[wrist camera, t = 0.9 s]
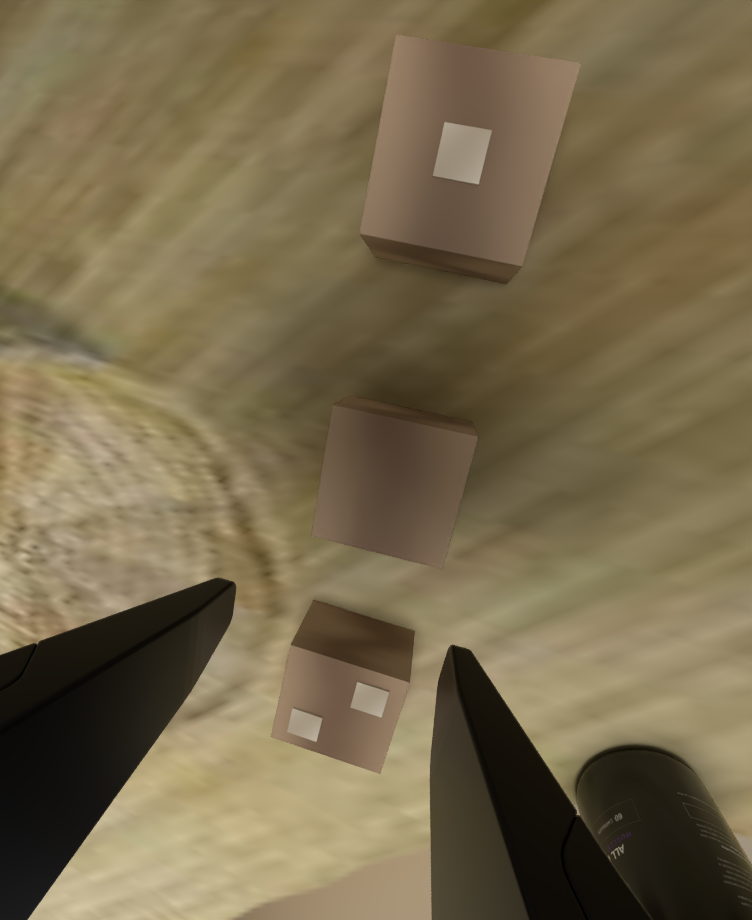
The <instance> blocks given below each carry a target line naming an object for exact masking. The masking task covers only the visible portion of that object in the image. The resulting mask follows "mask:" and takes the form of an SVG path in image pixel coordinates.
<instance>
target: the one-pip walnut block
mask: <svg viewBox="0 0 752 920" xmlns="http://www.w3.org/2000/svg"><path fill="white" fill-rule="evenodd" d="M580 65H581V63H578V62H571V61H565V60H558V59H552V58H545V57H539V56H532V55H526V54H519V53H513V52H506V51H500V50H493V49H487V48H480V47H474V46H467V45H461V44H455V43H448V42H442V41H435V40H429V39H422V38H416V37H409V36H403V35H396V37H395V43H394V48H393V54H392V59H391V65H390V70H389V75H388V81H387V86H386V92H385V97H384V103H383V108H382V113H381V119H380V124H379V130H378V135H377V141H376V146H375V151H374V157H373V162H372V168H371V173H370V178H369V184H368V189H367V195H366V200H365V206H364V211H363V216H362V222H361V227H360V233H359V234H360V235H361V237H362V238H363V240H364V241H365V243H366V244H367V245H368V247H369V248H370V250H371V251H372V253H373V254H374V256H375V257H378V258H383V259H388V260H393V261H398V262H402V263H407V264H412V265H417V266H422V267H427V268H432V269H436V270H441V271H446V272H451V273H456V274H461V275H465V276H470V277H475V278H480V279H485V280H490V281H494V282H499V283H504V284H507V283H508V282H509V281H510V279H511V278H512V277H513V276H514V275H515V274H516V273H517V272H518V271H519V270H520V269H521V267H522V266H523V263H524V259H525V256H526V252H527V249H528V245H529V242H530V238H531V235H532V231H533V228H534V225H535V221H536V218H537V214H538V211H539V207H540V204H541V200H542V197H543V193H544V190H545V186H546V183H547V179H548V176H549V173H550V169H551V166H552V162H553V159H554V155H555V152H556V148H557V145H558V141H559V138H560V134H561V131H562V127H563V124H564V121H565V117H566V114H567V110H568V107H569V103H570V100H571V96H572V93H573V89H574V86H575V82H576V79H577V76H578V72H579V69H580Z"/></svg>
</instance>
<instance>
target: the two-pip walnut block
mask: <svg viewBox="0 0 752 920" xmlns="http://www.w3.org/2000/svg"><path fill="white" fill-rule="evenodd" d="M414 633H415V631H412V630H409V629H406V628H403V627H399V626H396V625H393V624H390V623H386V622H383V621H380V620H377V619H373V618H370V617H367V616H364V615H360V614H357V613H354V612H351V611H347V610H344V609H341V608H338V607H334V606H331V605H328V604H325V603H321V602H318V601H315V600H313V602H312V604H311V606H310V608H309V610H308V612H307V614H306V616H305V618H304V620H303V622H302V624H301V626H300V628H299V630H298V632H297V633H296V635H295V637H294V639H293V641H292V643H291V646H290V650H289V655H288V659H287V664H286V669H285V673H284V678H283V683H282V687H281V692H280V696H279V701H278V706H277V710H276V715H275V720H274V724H273V729H272V734H271V737H272V738H275V739H278V740H281V741H284V742H287V743H290V744H293V745H296V746H299V747H302V748H305V749H308V750H311V751H314V752H317V753H320V754H323V755H326V756H329V757H332V758H335V759H338V760H341V761H343V762H346V763H349V764H352V765H355V766H358V767H361V768H364V769H367V770H370V771H373V772H376V773H379V774H380V773H381V770H382V767H383V764H384V761H385V758H386V755H387V751H388V748H389V745H390V742H391V739H392V736H393V733H394V730H395V727H396V724H397V721H398V718H399V715H400V711H401V708H402V705H403V702H404V699H405V696H406V693H407V690H408V687H409V684H410V675H411V665H412V654H413V643H414Z"/></svg>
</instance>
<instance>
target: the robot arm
mask: <svg viewBox="0 0 752 920" xmlns="http://www.w3.org/2000/svg"><path fill="white" fill-rule="evenodd" d="M235 594H236V584H235V583H234V582H233V581H229V580H226V579H222V578H214V579H211V580H209V581H206V582H203V583H200V584H197V585H195V586H192V587H189V588H186V589H183V590H181V591H178V592H175V593H172V594H170V595H167V596H164V597H161V598H158V599H156V600H153V601H150V602H147V603H144V604H142V605H139V606H136V607H133V608H131V609H128V610H125V611H122V612H119V613H117V614H114V615H111V616H108V617H105V618H103V619H100V620H97V621H94V622H92V623H89V624H86V625H83V626H80V627H78V628H75V629H72V630H69V631H66V632H64V633H61V634H58V635H55V636H52V637H50V638H47V639H44V640H41V641H39V643H38V644H36V643H33V644H30V645H27V646H24V647H22V648H19V649H16V650H13V651H10V652H8V653H5V654H2V655H0V920H28V918H29V917H30V915H31V914H32V913H33V911H34V910H35V908H36V907H37V906H38V904H39V903H40V902H41V900H42V899H43V897H44V896H45V895H46V893H47V892H48V890H49V889H50V888H51V886H52V885H53V883H54V882H55V881H56V879H57V878H58V876H59V875H60V874H61V872H62V871H63V869H64V868H65V867H66V865H67V864H68V863H69V861H70V860H71V858H72V857H73V856H74V854H75V853H76V851H77V850H78V849H79V847H80V846H81V844H82V843H83V842H84V840H85V839H86V837H87V836H88V835H89V833H90V832H91V831H92V829H93V828H94V826H95V825H96V824H97V822H98V821H99V819H100V818H101V817H102V815H103V814H104V812H105V811H106V810H107V808H108V807H109V805H110V804H111V803H112V801H113V800H114V798H115V797H116V796H117V794H118V793H119V792H120V790H121V789H122V787H123V786H124V785H125V783H126V782H127V780H128V779H129V778H130V776H131V775H132V773H133V772H134V771H135V769H136V768H137V766H138V765H139V764H140V762H141V761H142V760H143V758H144V757H145V755H146V754H147V753H148V751H149V750H150V748H151V747H152V746H153V744H154V743H155V741H156V740H157V739H158V737H159V736H160V734H161V733H162V732H163V730H164V729H165V727H166V726H167V725H168V723H169V722H170V721H171V719H172V718H173V716H174V715H175V714H176V712H177V711H178V709H179V708H180V707H181V705H182V704H183V702H184V701H185V699H186V698H187V697H188V695H189V694H190V692H191V691H192V689H193V687H194V686H195V684H196V682H197V681H198V679H199V677H200V675H201V674H202V672H203V670H204V668H205V667H206V665H207V663H208V661H209V660H210V658H211V656H212V654H213V653H214V651H215V649H216V647H217V646H218V644H219V642H220V641H221V639H222V637H223V635H224V634H225V632H226V630H227V628H228V626H229V624H230V622H231V619H232V616H233V609H234V602H235ZM576 814H577V810H576V809H575V807H574V806H573V804H572V803H571V801H570V800H569V798H568V797H567V795H566V794H565V792H564V791H563V789H562V788H561V786H560V785H559V783H558V781H557V780H556V778H555V777H554V775H553V774H552V772H551V771H550V769H549V768H548V766H547V765H546V763H545V762H544V760H543V759H542V757H541V756H540V754H539V753H538V751H537V750H536V748H535V747H534V745H533V744H532V742H531V741H530V739H529V738H528V736H527V735H526V733H525V732H524V730H523V729H522V727H521V726H520V724H519V722H518V721H517V719H516V718H515V716H514V715H513V713H512V712H511V710H510V709H509V707H508V706H507V704H506V703H505V701H504V700H503V698H502V697H501V695H500V694H499V692H498V691H497V689H496V688H495V686H494V685H493V683H492V682H491V680H490V679H489V677H488V676H487V674H486V673H485V671H484V670H483V668H482V667H481V665H480V663H479V662H478V660H477V659H476V657H475V656H474V654H473V653H472V652H471V651H470V650H469V649H466V648H463V647H459V646H456V645H451V646H450V647H449V649H448V651H447V654H446V657H445V661H444V664H443V667H442V670H441V673H440V677H439V681H438V687H437V696H436V707H435V717H434V728H433V738H432V749H431V762H430V827H431V892H432V893H431V895H432V896H431V899H432V900H431V902H432V920H653V919H652V918H651V916H650V915H649V914H648V912H647V911H646V910H645V908H644V907H643V905H642V904H641V903H640V901H639V900H638V899H637V897H636V896H635V895H634V893H633V892H632V891H631V889H630V888H629V886H628V885H627V884H626V882H625V881H624V879H623V878H622V877H621V875H620V874H619V872H618V871H617V869H616V868H615V866H614V865H613V863H612V862H611V861H610V859H609V858H608V856H607V855H606V853H605V852H604V850H603V849H602V847H601V846H600V845H599V843H598V842H597V840H596V839H595V837H594V836H593V834H592V833H591V831H590V830H589V828H588V827H587V825H586V824H585V822H584V821H583V819H582V818H581V816H579V815H577V816H576Z"/></svg>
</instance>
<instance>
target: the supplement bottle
mask: <svg viewBox="0 0 752 920" xmlns="http://www.w3.org/2000/svg"><path fill="white" fill-rule="evenodd" d="M577 804H578V809H579V812H580V816H581V818H582V819H583V821H584V822H585V824H586V825H587V827H588V828H589V830H590V831H591V833H592V834H593V836H594V837H595V839H596V840H597V842H598V843H599V845H600V846H601V847H602V849H603V850H604V852H605V853H606V855H607V856H608V858H609V859H610V861H611V862H612V863H613V865H614V866H615V868H616V869H617V871H618V872H619V874H620V875H621V877H622V878H623V879H624V881H625V882H626V884H627V885H628V886H629V888H630V889H631V891H632V892H633V893H634V895H635V896H636V897H637V899H638V900H639V901H640V903H641V904H642V905H643V907H644V908H645V910H646V911H647V912H648V914H649V915H650V916H651V918H652V919H653V920H752V864H751V862H750V861H749V859H748V857H747V856H746V854H745V852H744V851H743V849H742V847H741V846H740V844H739V842H738V840H737V839H736V837H735V835H734V834H733V832H732V830H731V829H730V827H729V825H728V824H727V822H726V820H725V819H724V817H723V815H722V814H721V812H720V810H719V809H718V807H717V805H716V804H715V802H714V801H713V799H712V797H711V796H710V794H709V792H708V791H707V789H706V788H705V786H704V785H703V783H702V782H701V780H700V779H699V778H698V777H697V775H696V774H695V773H694V772H692V771H691V770H690V769H689V768H688V767H687V766H685V765H684V764H682V763H681V762H679V761H677V760H675V759H674V758H671V757H669V756H667V755H664V754H661V753H657V752H653V751H648V750H623V751H617V752H613V753H610V754H607V755H605V756H603V757H601V758H599V759H597V760H596V761H594V762H593V763H592V764H591V765H590V766H589V767H588V768H587V769H586V770H585V771H584V773H583V774H582V776H581V778H580V780H579V783H578V787H577Z"/></svg>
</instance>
